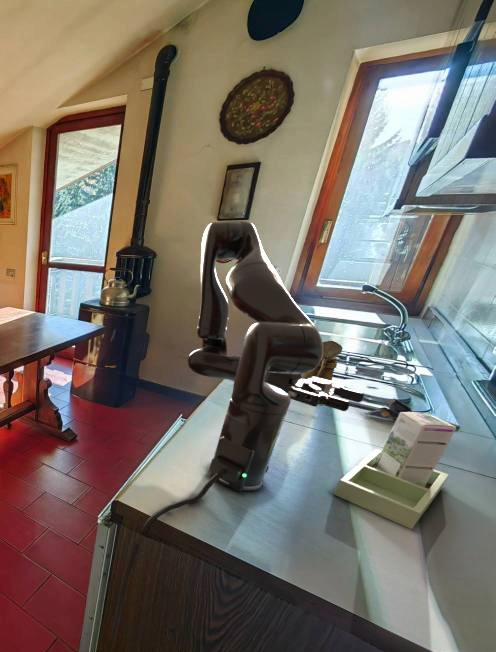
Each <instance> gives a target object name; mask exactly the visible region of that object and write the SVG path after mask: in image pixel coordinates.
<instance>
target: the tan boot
mask: <svg viewBox="0 0 496 652" xmlns="http://www.w3.org/2000/svg"><path fill="white" fill-rule="evenodd" d="M322 342H323V356H322V360H321V362H320V364H319V365H318V366H317V367H316V368H315V369H314V370H312V371H310V372H308V373H303V374H301V377H302V379H307V380H308V379H311V378H312V377H317V378H321V379H325V380H329V381H333V376H334V371H335V369H336V368H337V367H338V366H337V365H338V361H337V359H338V358H337V356H339V355H341V353H342V352H343V346H342V345H341V344H340V343H338V342H336V341H335V340H327V341H322Z"/></svg>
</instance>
